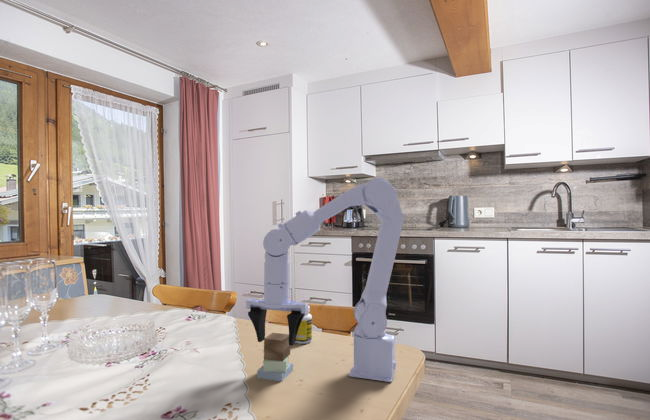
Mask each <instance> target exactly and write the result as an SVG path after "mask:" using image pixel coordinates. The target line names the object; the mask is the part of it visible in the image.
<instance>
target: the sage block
mask: <svg viewBox="0 0 650 420" xmlns="http://www.w3.org/2000/svg"><path fill="white" fill-rule="evenodd" d="M289 356H290V355H289ZM289 356H288V357H287V358H286V359H285V360H284V361H276V360H268V359H264V358H263V362H262V364H263V365H262V366H263V372H286V370H287V367H288V363H290V362H289V359H290V357H289Z"/></svg>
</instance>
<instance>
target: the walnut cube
mask: <svg viewBox="0 0 650 420" xmlns="http://www.w3.org/2000/svg"><path fill="white" fill-rule="evenodd" d="M290 355H291V346H289V333H280V332H279V333H278V332H272V333H270V334H268V335H267V336H265V338H264V340H263V360H264V359H268V360H276V361H284V360H285V359H286V358H287V357H288V356H290Z"/></svg>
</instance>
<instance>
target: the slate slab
mask: <svg viewBox="0 0 650 420" xmlns="http://www.w3.org/2000/svg"><path fill="white" fill-rule="evenodd" d="M293 371H294V363H291V362H289V363H288V367H287V370H286V372H263V365H262V366H261V367H260V368H258V369H257V370H256V378H257V379H264V380H268V381H269V380H270V381H274V382H275V381H276V382H282V383H283V381H284V380H285V379H286V378H287V377H288V376H289V375H290V374H292V372H293Z"/></svg>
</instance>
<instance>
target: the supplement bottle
mask: <svg viewBox="0 0 650 420" xmlns="http://www.w3.org/2000/svg"><path fill="white" fill-rule="evenodd" d="M310 311H311V306H310V305H308V312H307V313H306V314H305V315H304V317H303V319H302V321H301V324H300V326H299V329H298V332H297V336H296V342H295V344H299V345H305V344H309V343H311V341H312V340H313V336H312V335H313V316H312V314H311V313H310Z"/></svg>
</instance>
